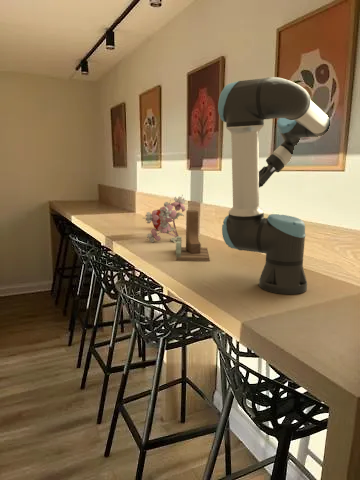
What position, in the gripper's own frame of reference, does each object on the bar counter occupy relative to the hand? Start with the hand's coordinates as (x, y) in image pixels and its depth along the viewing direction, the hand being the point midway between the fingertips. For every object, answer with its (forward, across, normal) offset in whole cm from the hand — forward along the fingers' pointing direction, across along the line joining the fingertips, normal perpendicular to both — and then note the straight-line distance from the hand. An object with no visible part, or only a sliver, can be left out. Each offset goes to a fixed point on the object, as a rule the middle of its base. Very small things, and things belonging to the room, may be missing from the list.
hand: (241, 196), depth 160 cm
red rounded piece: (+44, +72, +9) cm, 84 cm away
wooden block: (+32, +5, -3) cm, 32 cm away
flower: (+43, +34, +6) cm, 55 cm away
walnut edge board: (+33, +4, -4) cm, 34 cm away
